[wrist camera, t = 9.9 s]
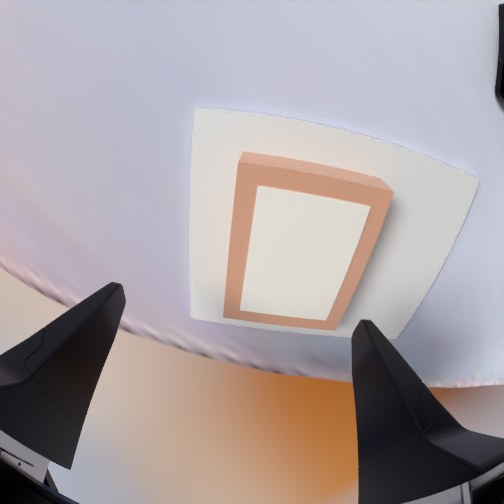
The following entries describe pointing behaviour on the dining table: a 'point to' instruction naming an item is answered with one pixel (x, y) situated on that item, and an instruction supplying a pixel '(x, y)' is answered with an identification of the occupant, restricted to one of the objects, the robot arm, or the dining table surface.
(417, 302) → the mat
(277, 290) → the tile
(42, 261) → the dining table surface
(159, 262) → the dining table surface
